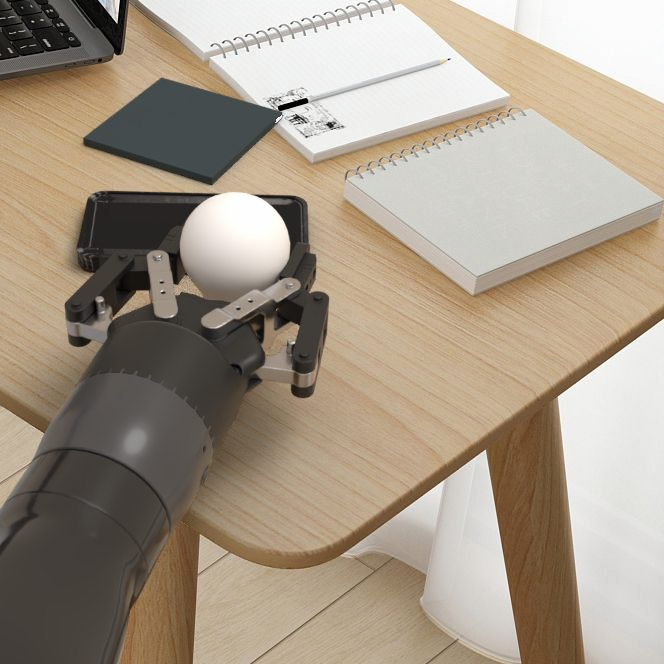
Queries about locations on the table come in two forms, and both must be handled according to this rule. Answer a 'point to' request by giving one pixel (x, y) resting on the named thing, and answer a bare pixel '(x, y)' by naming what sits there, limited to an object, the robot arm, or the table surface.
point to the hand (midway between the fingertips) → (248, 244)
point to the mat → (184, 130)
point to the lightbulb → (234, 246)
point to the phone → (159, 221)
